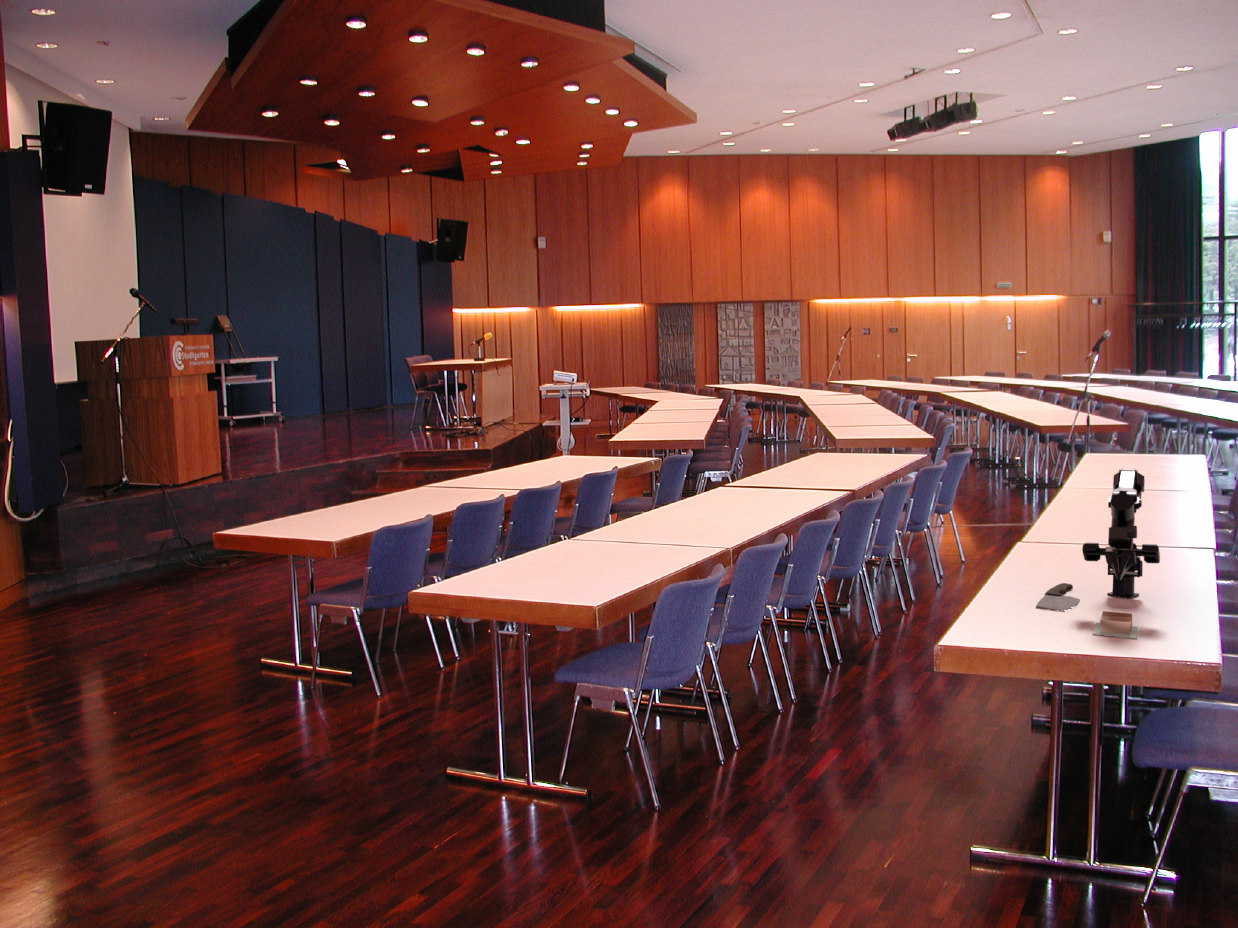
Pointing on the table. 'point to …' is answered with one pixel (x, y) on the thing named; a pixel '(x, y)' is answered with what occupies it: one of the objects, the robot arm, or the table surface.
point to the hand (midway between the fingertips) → (1118, 579)
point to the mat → (1119, 635)
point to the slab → (1116, 622)
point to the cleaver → (1058, 598)
